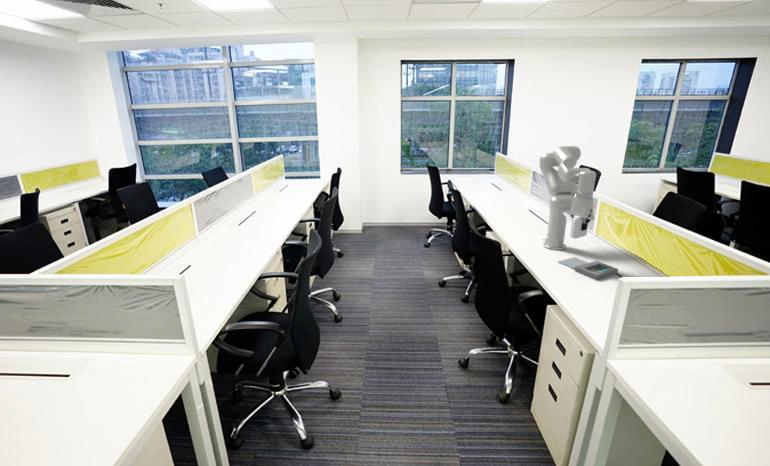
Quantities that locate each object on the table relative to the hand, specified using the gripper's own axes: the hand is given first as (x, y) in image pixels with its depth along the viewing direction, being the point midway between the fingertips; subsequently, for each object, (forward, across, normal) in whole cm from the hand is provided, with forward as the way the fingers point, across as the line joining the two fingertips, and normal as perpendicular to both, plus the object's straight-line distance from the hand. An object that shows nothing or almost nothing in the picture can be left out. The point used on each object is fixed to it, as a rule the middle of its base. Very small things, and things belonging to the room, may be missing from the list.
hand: (579, 228), depth 191 cm
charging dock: (+20, +13, 0) cm, 24 cm away
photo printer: (+5, 0, 0) cm, 5 cm away
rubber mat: (+20, 0, 0) cm, 20 cm away
